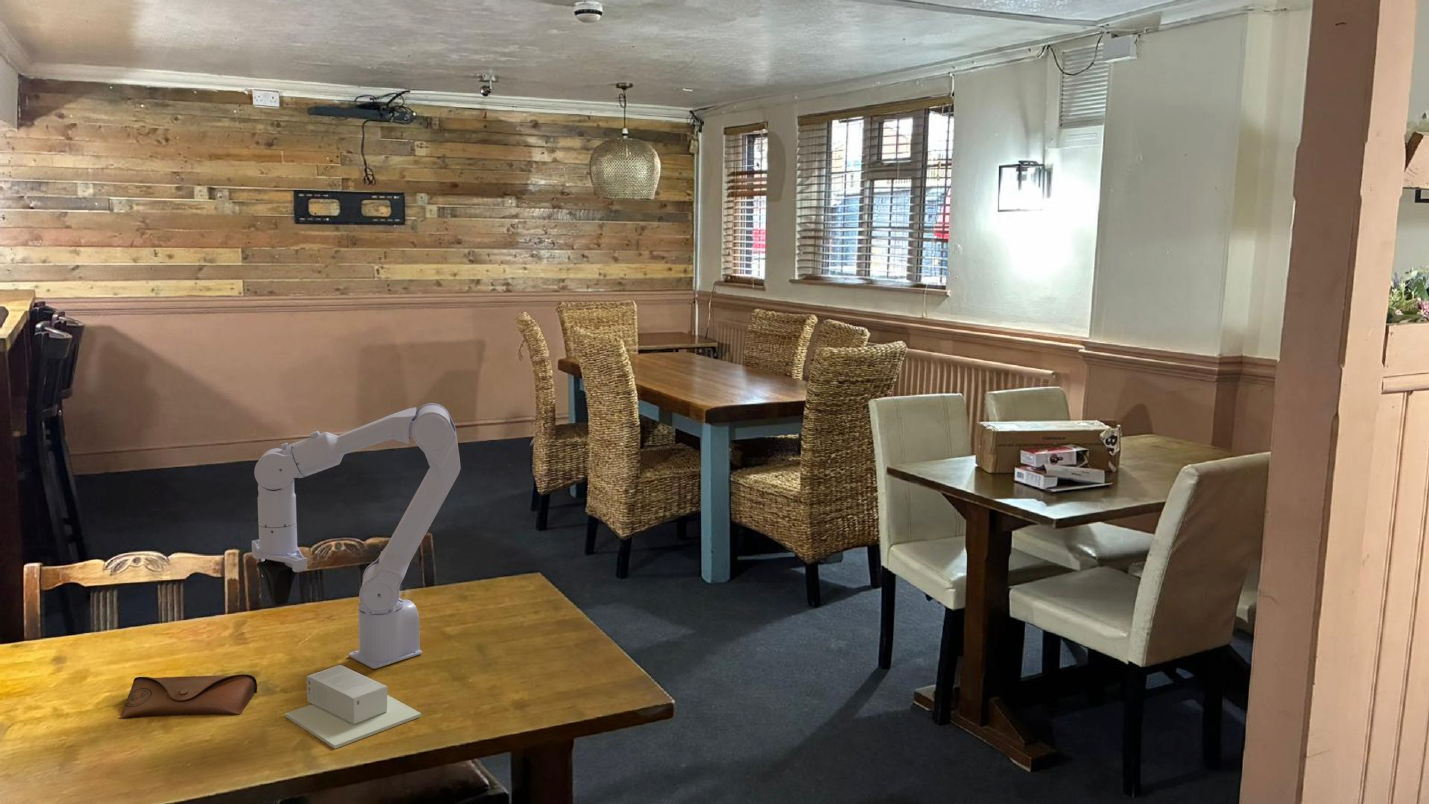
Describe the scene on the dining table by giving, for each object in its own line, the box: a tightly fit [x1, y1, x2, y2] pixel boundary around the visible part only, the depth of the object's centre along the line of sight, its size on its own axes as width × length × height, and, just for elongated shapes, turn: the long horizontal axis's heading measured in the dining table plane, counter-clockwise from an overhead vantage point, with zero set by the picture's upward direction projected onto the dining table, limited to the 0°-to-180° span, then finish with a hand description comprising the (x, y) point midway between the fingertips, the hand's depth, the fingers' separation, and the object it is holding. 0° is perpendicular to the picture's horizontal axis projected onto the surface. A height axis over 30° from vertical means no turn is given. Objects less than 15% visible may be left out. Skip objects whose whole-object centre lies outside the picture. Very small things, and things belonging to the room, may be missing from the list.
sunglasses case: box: [117, 673, 258, 720], centre depth 158 cm, size 18×7×7 cm, turn 100°
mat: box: [284, 694, 422, 750], centre depth 156 cm, size 14×14×1 cm
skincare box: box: [306, 664, 388, 725], centre depth 158 cm, size 6×4×12 cm
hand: (280, 603), depth 172 cm, fingers closed
